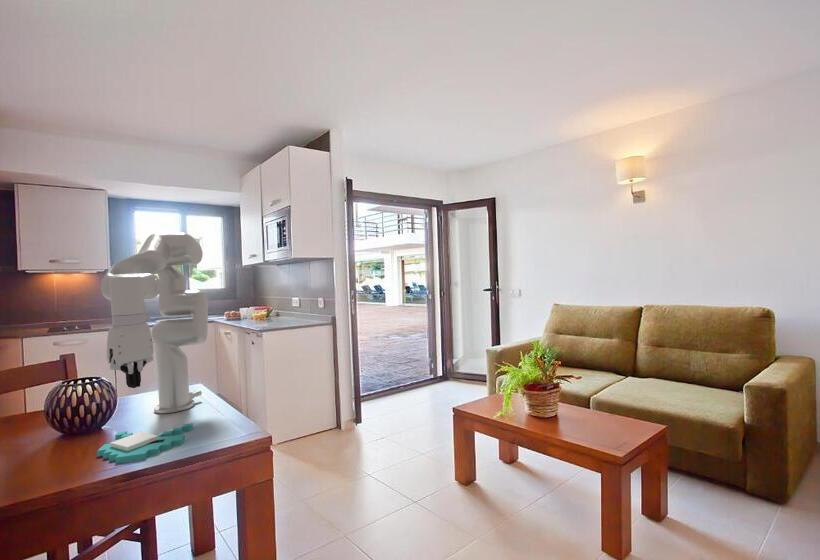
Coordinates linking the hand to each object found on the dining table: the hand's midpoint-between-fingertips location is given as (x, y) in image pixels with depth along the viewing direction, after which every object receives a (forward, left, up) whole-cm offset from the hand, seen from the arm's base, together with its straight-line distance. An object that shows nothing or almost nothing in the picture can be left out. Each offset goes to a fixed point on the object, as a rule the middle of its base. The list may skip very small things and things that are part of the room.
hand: (134, 386), depth 113 cm
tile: (-3, 0, -15) cm, 15 cm away
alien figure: (-2, 0, -18) cm, 18 cm away
